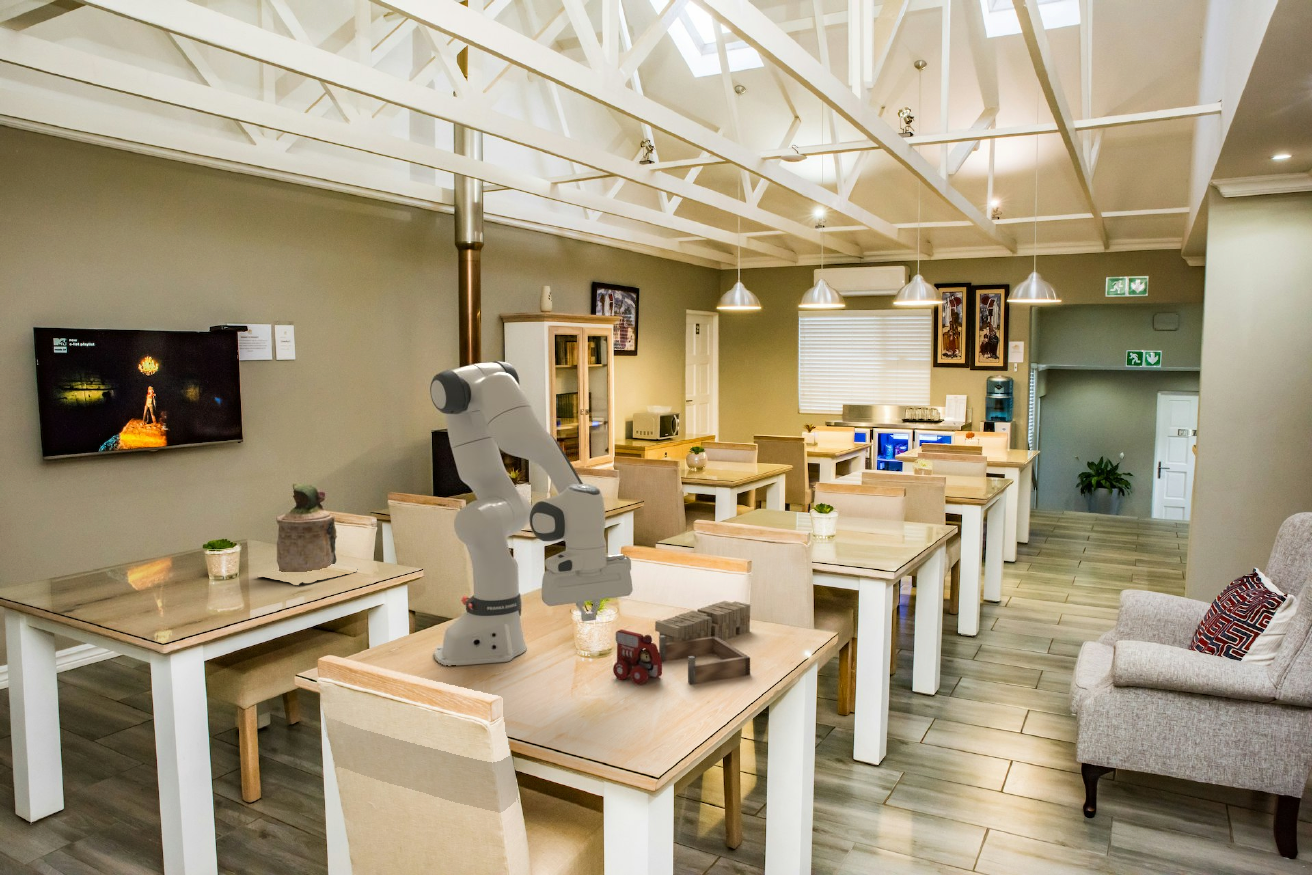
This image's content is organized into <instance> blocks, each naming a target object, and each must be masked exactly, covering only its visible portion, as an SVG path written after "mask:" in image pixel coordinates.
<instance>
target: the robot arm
mask: <svg viewBox="0 0 1312 875" xmlns="http://www.w3.org/2000/svg"><path fill="white" fill-rule="evenodd" d="M429 391H430V392H429V393H430V397H431V401H432V403H433V406H434V407H435V408H436V409H437V410H438V411H439V412H440V413H441V414H445V417H446V427H447V428H446V429H447V435H448V438H449V439H448V440H449V444H450V448H451V451H452V452H451V453H452V455H453V458H454V463H455V466H456V470H457V473H458V476H459V479H460V480H461V481H462V482H463V483H464V484H465V485H467V486H468V487H469V488H470V489H471V491H472V492H473V495H474V496H475V498H476V500H473V501H471V502H469V503H468V504H465V506H464V507H462V508H460V509H459V510H458V512H457V513H456V515H455V518H454V521H453V527H454V532H455V535H456V536H457V537H458V539H459V540H460V541H461V542H462V543H463V544H464V545H465V546H466V549H467V552H468V554H469V558H470V561H471V565H472V576H473V577H472V578H473V595H472V596H471V597H469V596H468V595H464V596H462V597H461V600H460V601H461V603H462V604H463V605H464V606H465V612H463V614H462V615H461V616H459V617H458V618H457V619H456V620H455V621H454V622H452V623H451V624H449V626H448V627H446V629H445V632H444V637H443V641H442V645H438V646H437V647H436V648H435V649H434V651H433V652H434V653H433V657H434V659H435V661H438V663H439V664H440V663H441V664H440V665H442V664H443V665H442V666H446V665H448V666H447V667H452V666H451V665H456V666H467V665H478V664H479V665H480V664H482V665H483V664H494V663H506V662H510V661H511V660H513V659H514V658H515V657H517V656H519V655H522V654H524V652H526V650H527V644H526V641H525V638H524V633H523V627H522V621H521V616H522V597H521V595H522V594H521V593H520V590H519V589H520V587H519V584H520V583H519V582H520V581H519V577H520V576H519V562H518V561H517V560H516V559H515V558H514V557H513V556H512V554H511V551H510V548H509V544H508V538H509V537H511V536H513V535H516V534H519V532H521V531H523V530H524V529H525V528H526V527H527V526H528V525H529V526H530V529H531V531H532V534H533V535H534V536H535V537H536V538H537V539H538V540H540V541H542V542H548V543H549V542H556V541H557V542H558V541H561V540H563V541H564V542H565V550H563V551H561V552H559V553H557V554H555V555H552V556H550V557H548V558H546V559H545V560H544V564H545V565H544V566H545V567H546V569H547V570H545V571H544V573H543V575H542V582H541V600H542V602H543V603H544V605H546V606H547V607H555V606H564V605H571V604H575V606H576V608H577V609H578V611H579V612H580V616H581V619H580V620H581V621H582V622H583V623H584V622H588V621H589V622H591V621H596V620H597V612H598V611H599V609H600V607H601V605H602V604H601V600H607V599H612V598H623V597H629V596H630V595H631V594H632V592H633V590H634V589H633V581H632V575H631V570H632V562H631V561H632V560H631V558H630V557H629V556H626V555H625V554H621V553H620V554H617V555H616V554H615V555H614V554H613V555H607V541H606V538H605V528H606V512H605V511H606V509H605V502H604V501H605V500H604V497H603V494H602V492H601V490H600V488H598V487H597V486H595V485H592V484H589V483H588V484H587V483H583V480H582V479H581V478H580V476H579V474H578V473H577V471H576V469H575V468H574V466H573V464H572V463H571V461H570V459H569V457H568V456H567V454H566V453H565V451H564V450H563V448H562V446H561V445H560V444H559V442H558V441H557V439H555V437H554V436H553V435H551V433H549V432H548V431H547V430H546V428H545V427H544V426H543V425H542V422H540V420H539V419H538V416H537V415H536V414H535V411H534V409H533V407H532V405H531V404H530V401H529V399H528V397H527V394H525V392H524V390H523V389H522V387H521V386H520V377H519V374H518V372H517V370H516V369H515V367H514V366H513V365H512V364H511V363H509V362H505V361H498V360H495V361H492V362H482V363H480V362H479V363H471V364H469V365H465V366H461V367H457V368H454V369H446V370H443V371H441V372H438V373H436V374H435V375H434V376H433V378H432V380H431V382H430V388H429ZM500 450H501V451H502V452H504V453H505V454H508V455H510V456H513V457H518V458H521V459H525V460H528V461H530V462H532V463H535V464H537V465H538V466H540V467H541V468H542V469H543V470H544V472H545V474H547V476H548V477H549V479H550V481H551V482H552V484H553V486H554V488H555V490H556V491H557V493H558V494H556V495H554V496H551V497H549V498H545V499H542V500H540V501H538V502H536V503H535V504H534V505H533V506H532V505H531V503H530V500H529V499H528V498H527V497H526V496H524V495H523V494H522V493H520V491H519V490H518V488H517V487H516V485H515V484H514V482H513V481H512V478H511V477H510V475H509V473H508V471H507V469H506V467H505V465H504V462H503V459H502V455H501V452H500ZM586 602H591V603H592V604H593V605H592V607H591V608H590V610H588V611H586V610H585V608H583V607H585V606H586Z"/></svg>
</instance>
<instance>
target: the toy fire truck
mask: <svg viewBox="0 0 1312 875" xmlns="http://www.w3.org/2000/svg"><path fill="white" fill-rule="evenodd" d="M615 642H616V643H617V645H616V662H615V663H614V665H613V667H612V668H613V669H612V670H613V671H612V672H613V675H614V677H616V679H618V680H621V681H622V680H625V679H628V678H629V677H630V679H631V680H632V682H633V683H635V685H639V686H640V685H643V684H645V683H647V681H648V679H649V677H650V678H652V679H653V678H655V679H657V678H660V677H661V676H662V675H663V662H662V660H661V657H660V654H659V648H658V646H657V645H656V643H655V642H653V638H652V635H650V634H646V635H643V634H641V633H638V632H633V631H629V630H625V629H618V630H617V631H616V632H615Z"/></svg>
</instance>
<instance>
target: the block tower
mask: <svg viewBox="0 0 1312 875" xmlns="http://www.w3.org/2000/svg"><path fill="white" fill-rule="evenodd" d="M654 622H655V624H654V625H655V627H654V628H655V630H654V631H655V632H657V633H658V634H659V636H663V635H664V636H665V637H666V643H671V642H678V641H685V640H691V639H698V638H705V637H712V636H716V637H718V638H719V639H721V640H723V641H724V642H726V641H727V640H730V639H733V638H736V635H737V636H741V635H744V634H746V633H750V632H751V631H750V628H751V627H750V626H751V604H750V603H745V602H740V601H727V600H723V601H720V602H716V603H713V604H710V605H707V606H704V607H703V606H702V607H701V608H697V610H690V611H686V612H684V613H680V614H677V615H675V616H672V617H669V618H667V619H663V620H659V619H658V620H655V621H654ZM659 636H658V637H659Z"/></svg>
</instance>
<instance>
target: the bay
mask: <svg viewBox="0 0 1312 875" xmlns="http://www.w3.org/2000/svg"><path fill="white" fill-rule="evenodd" d="M658 651H659V654H660V657H661V660H662V663H663V662H669V661H676V660H683V659H687V684H689V685H695V683H696V684H701V683H700V682H702V683H706V682H713V681H719V680H724V679H731V678H737V677H738V678H739V677H742V676H749V675H751V657H750V656H748V654H745V653H744V652H742V651H740V650H739V649H737V648H735V647H734V646H732V645H731V644H729V643H727V642H726V641H723V640H721V639H719V638H718V637H716V636H712V637H705V638H698V639H691V640H685V641H678V642H671V643H666V637H665V636H664V635H663V636H658ZM708 655H709V656H710V655H714V656H716V657H717V658H718V659H719V660H713V661H712V660H711V661H707V662H706V661H705V662H700V663H699V662H698V663H696V656H697V657H703V656H708Z"/></svg>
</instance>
